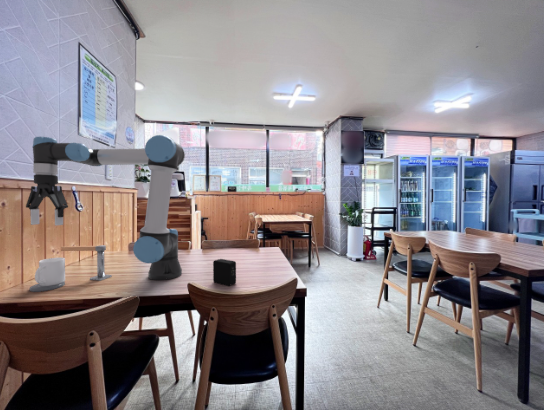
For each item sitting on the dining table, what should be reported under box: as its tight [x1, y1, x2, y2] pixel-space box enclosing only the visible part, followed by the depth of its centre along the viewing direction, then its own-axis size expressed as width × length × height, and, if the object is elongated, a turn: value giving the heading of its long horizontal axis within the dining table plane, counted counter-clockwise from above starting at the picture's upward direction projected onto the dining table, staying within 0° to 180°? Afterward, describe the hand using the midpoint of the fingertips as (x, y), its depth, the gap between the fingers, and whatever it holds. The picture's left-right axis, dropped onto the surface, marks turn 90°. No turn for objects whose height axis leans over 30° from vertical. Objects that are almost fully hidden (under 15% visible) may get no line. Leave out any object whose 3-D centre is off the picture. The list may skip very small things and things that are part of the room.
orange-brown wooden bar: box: [60, 245, 107, 252], centre depth 114 cm, size 4×19×2 cm, turn 94°
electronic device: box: [212, 258, 237, 287], centre depth 108 cm, size 4×10×10 cm, turn 58°
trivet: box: [29, 280, 66, 293], centre depth 103 cm, size 11×11×1 cm
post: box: [89, 250, 113, 281], centre depth 115 cm, size 6×6×13 cm
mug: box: [34, 257, 66, 286], centre depth 103 cm, size 12×8×10 cm
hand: (47, 224), depth 103 cm, fingers open, 13 cm apart
